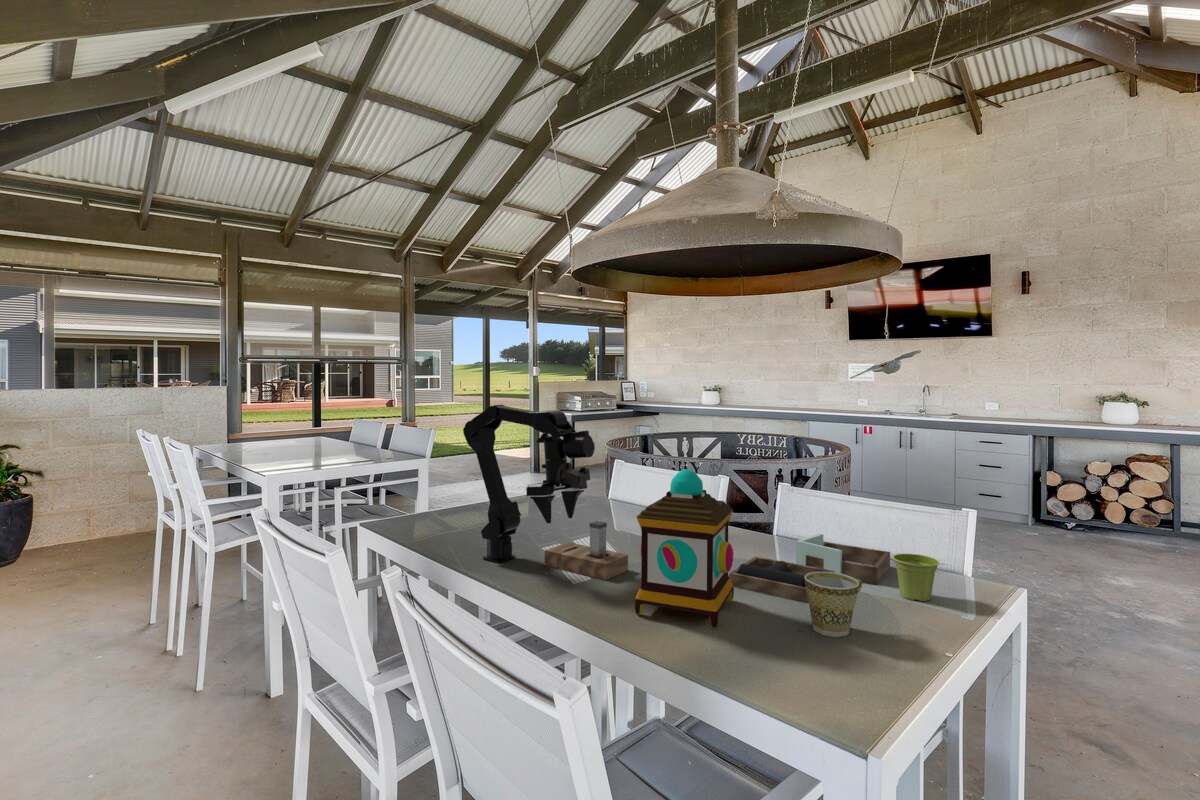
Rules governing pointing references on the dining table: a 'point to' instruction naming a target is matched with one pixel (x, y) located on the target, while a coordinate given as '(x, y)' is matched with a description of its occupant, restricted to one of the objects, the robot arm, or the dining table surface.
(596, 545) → the block
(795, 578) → the pipe connector
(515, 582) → the dining table surface
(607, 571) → the bit block
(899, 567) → the plant pot
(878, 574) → the brown shallow square box
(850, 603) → the ceramic cup
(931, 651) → the dining table surface
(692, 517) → the decorative lantern
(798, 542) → the l-shaped corner panel
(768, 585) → the wooden tray
